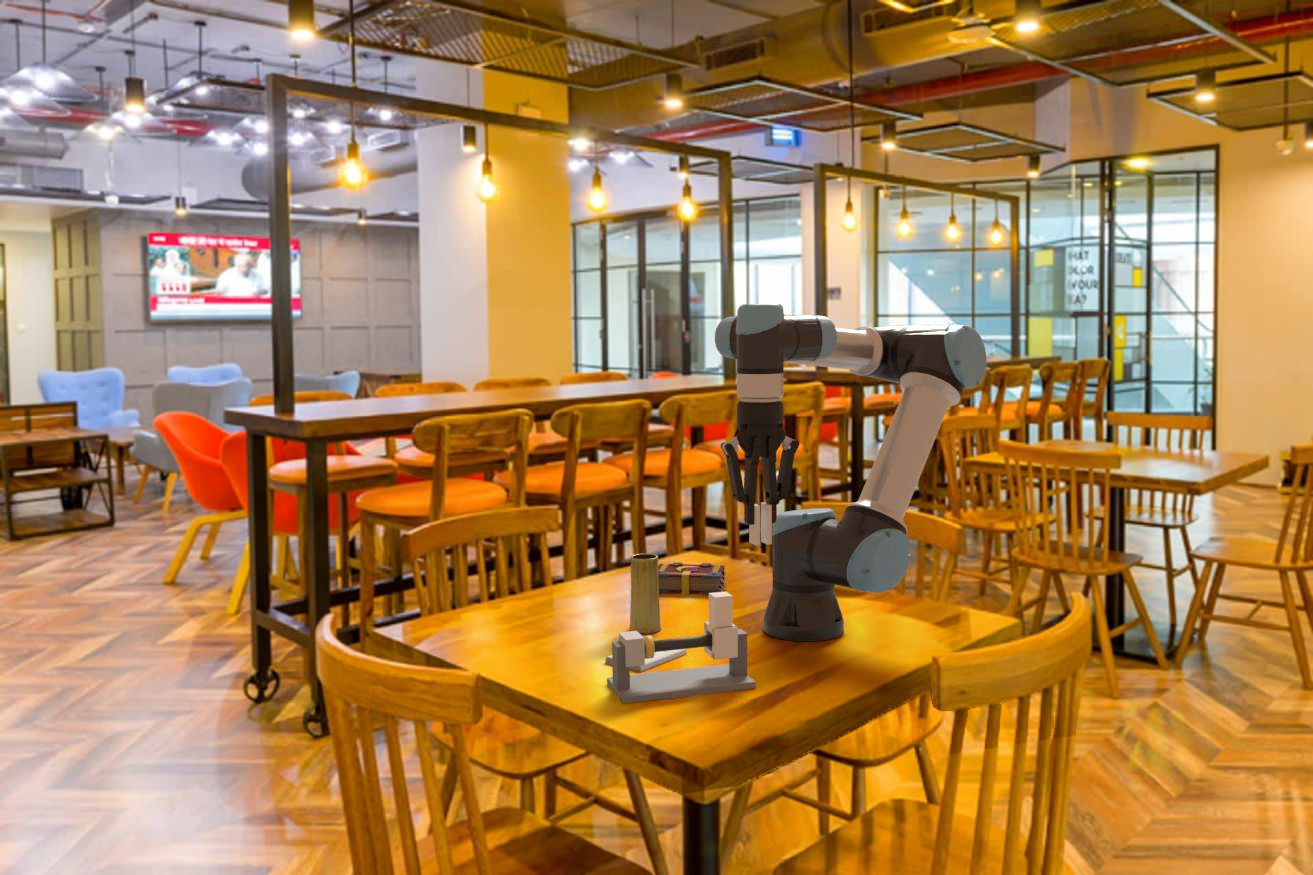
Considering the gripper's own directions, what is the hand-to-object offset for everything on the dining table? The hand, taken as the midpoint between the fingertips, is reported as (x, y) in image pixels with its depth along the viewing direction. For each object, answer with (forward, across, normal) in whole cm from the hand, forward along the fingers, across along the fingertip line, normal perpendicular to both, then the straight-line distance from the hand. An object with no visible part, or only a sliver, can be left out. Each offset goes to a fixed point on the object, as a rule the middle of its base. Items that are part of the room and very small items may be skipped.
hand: (760, 543), depth 180 cm
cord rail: (+22, +14, 0) cm, 26 cm away
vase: (+23, +10, -33) cm, 41 cm away
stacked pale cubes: (+18, +7, 0) cm, 19 cm away
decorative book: (+23, -9, -61) cm, 66 cm away
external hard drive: (+23, +15, -16) cm, 32 cm away
